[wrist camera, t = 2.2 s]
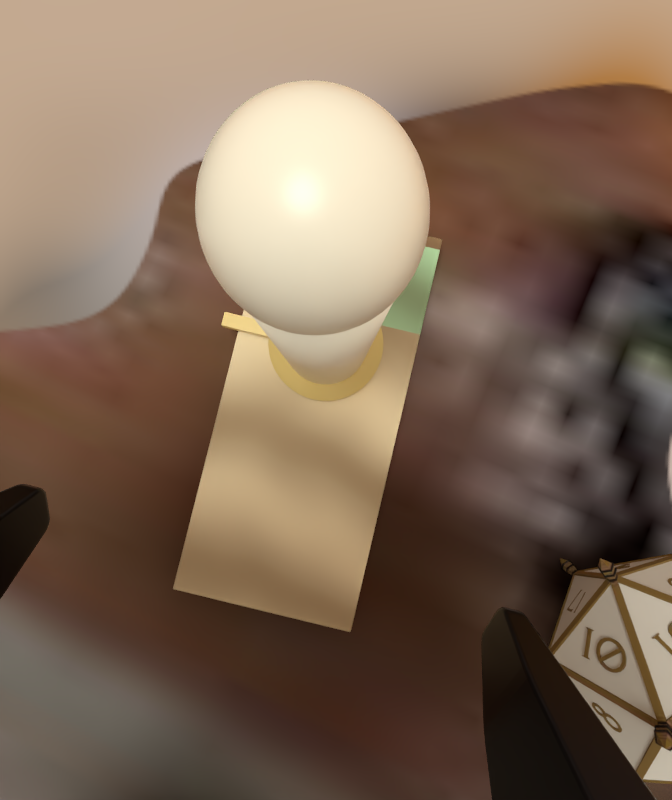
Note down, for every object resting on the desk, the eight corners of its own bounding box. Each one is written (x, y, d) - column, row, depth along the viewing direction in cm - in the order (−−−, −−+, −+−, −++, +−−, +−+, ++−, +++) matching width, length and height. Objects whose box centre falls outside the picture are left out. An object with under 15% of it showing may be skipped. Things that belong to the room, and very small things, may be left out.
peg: (367, 412, 19) (459, 393, 5) (212, 375, 19) (-110, 257, 5) (393, 304, 20) (546, 9, 5) (240, 268, 20) (2, -119, 6)
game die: (589, 601, 24) (820, 833, 16) (461, 644, 21) (667, 962, 13) (662, 467, 20) (1025, 686, 12) (517, 496, 17) (874, 823, 8)
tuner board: (349, 621, 20) (350, 632, 19) (180, 580, 20) (173, 588, 19) (437, 248, 21) (442, 239, 20) (274, 209, 21) (271, 198, 20)
